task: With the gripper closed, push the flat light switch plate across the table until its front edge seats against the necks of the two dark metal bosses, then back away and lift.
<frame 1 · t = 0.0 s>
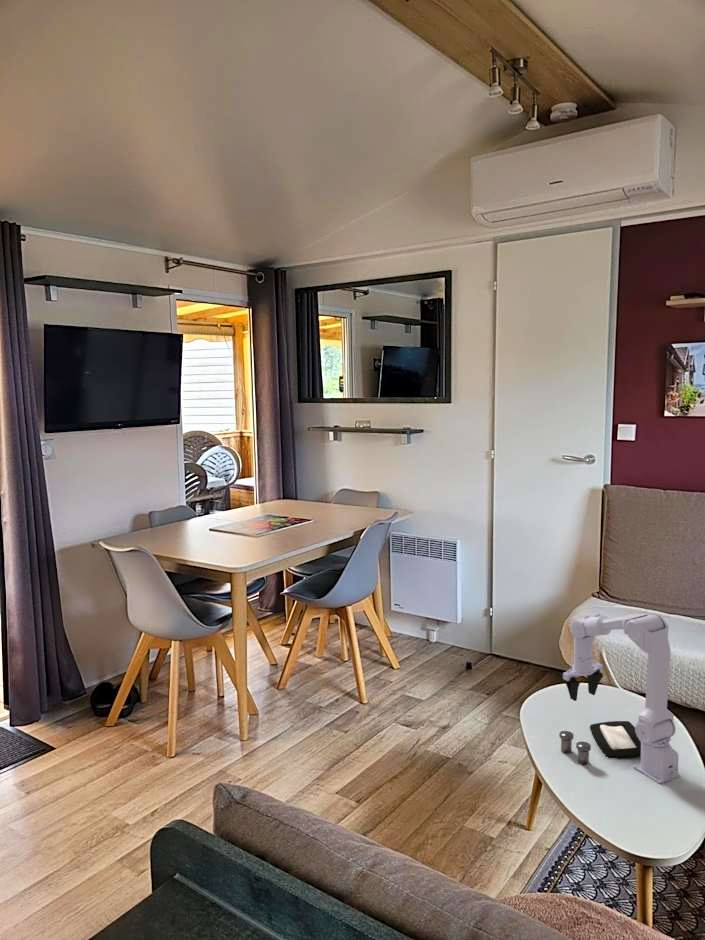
hand: (582, 696, 223), 10 cm above the table, tool pointing down, fingers open, 7 cm apart
light switch: (618, 743, 216), on the table
metal bosses: (574, 756, 208), on the table
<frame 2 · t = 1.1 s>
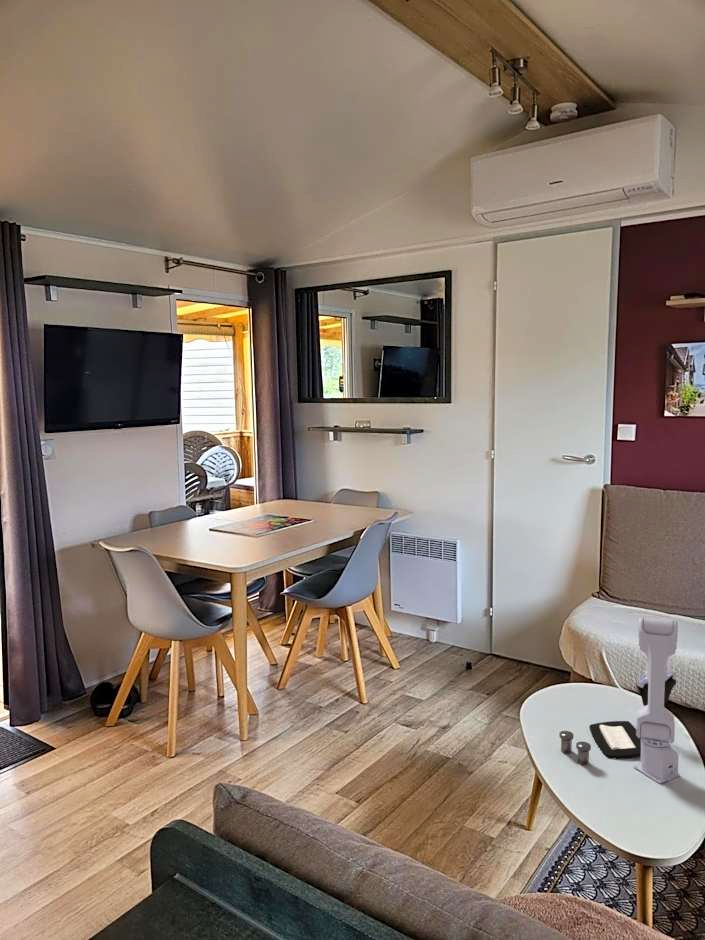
hand: (655, 703, 221), 8 cm above the table, tool pointing down, fingers open, 7 cm apart
nothing on the table moved.
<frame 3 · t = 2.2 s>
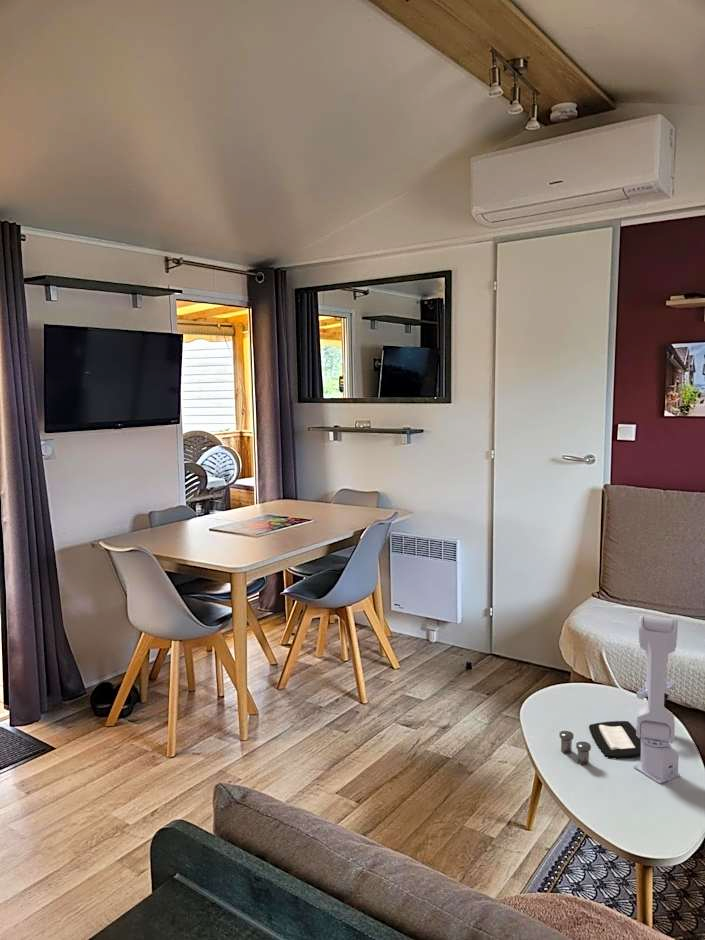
hand: (655, 715, 221), 4 cm above the table, tool pointing down, fingers closed
nothing on the table moved.
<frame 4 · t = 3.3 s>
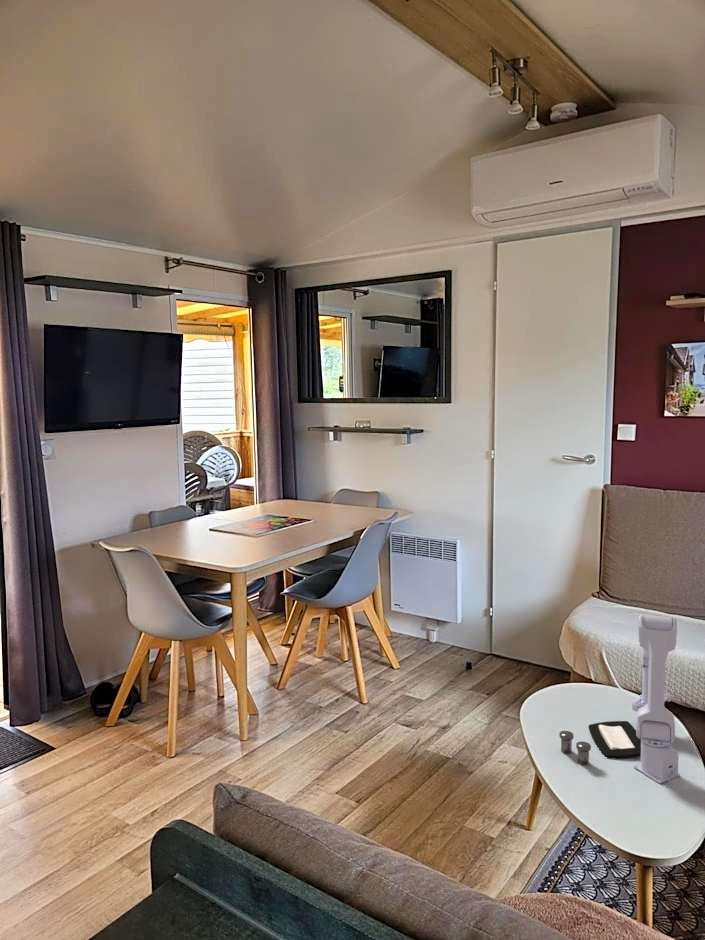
hand: (651, 727, 221), 1 cm above the table, tool pointing down, fingers closed
nothing on the table moved.
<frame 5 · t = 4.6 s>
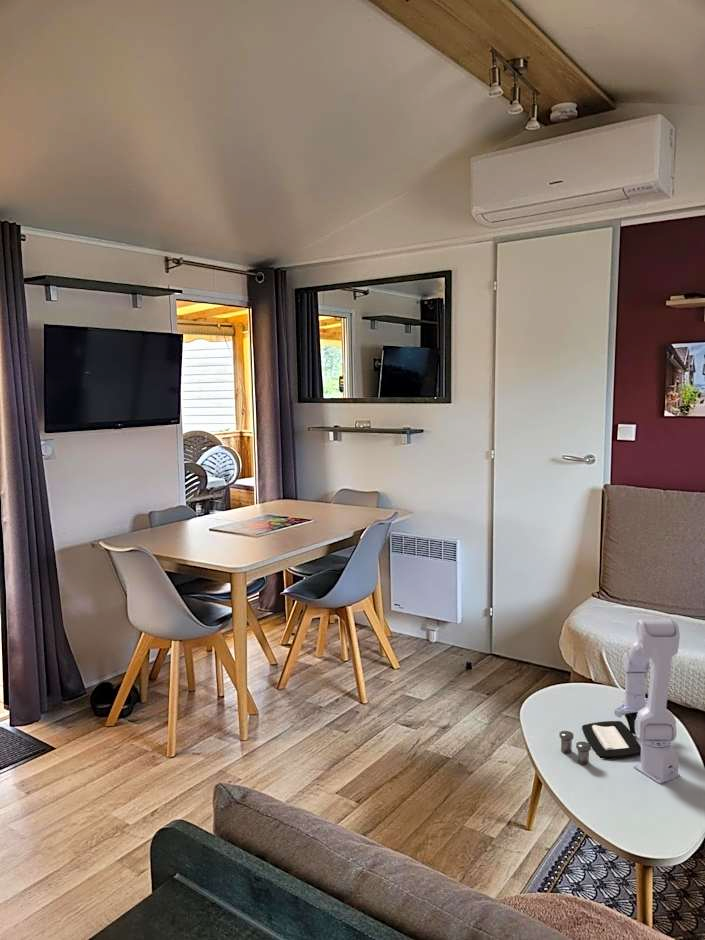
hand: (634, 733, 218), 1 cm above the table, tool pointing down, fingers closed
light switch: (611, 743, 215), on the table, touching gripper
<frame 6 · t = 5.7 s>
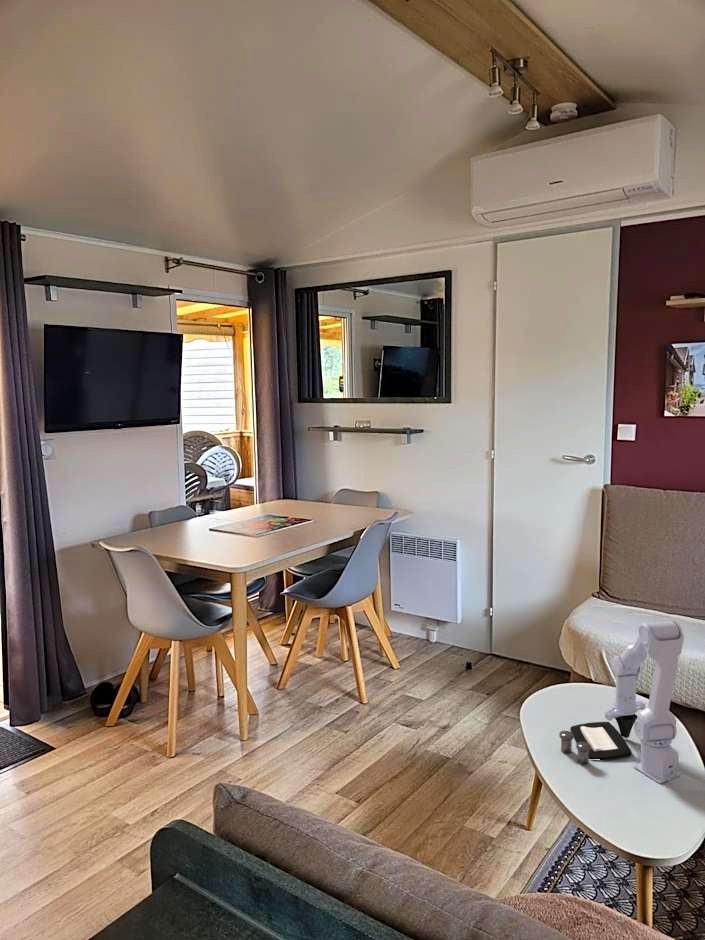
hand: (624, 736, 216), 1 cm above the table, tool pointing down, fingers closed
light switch: (599, 744, 215), on the table
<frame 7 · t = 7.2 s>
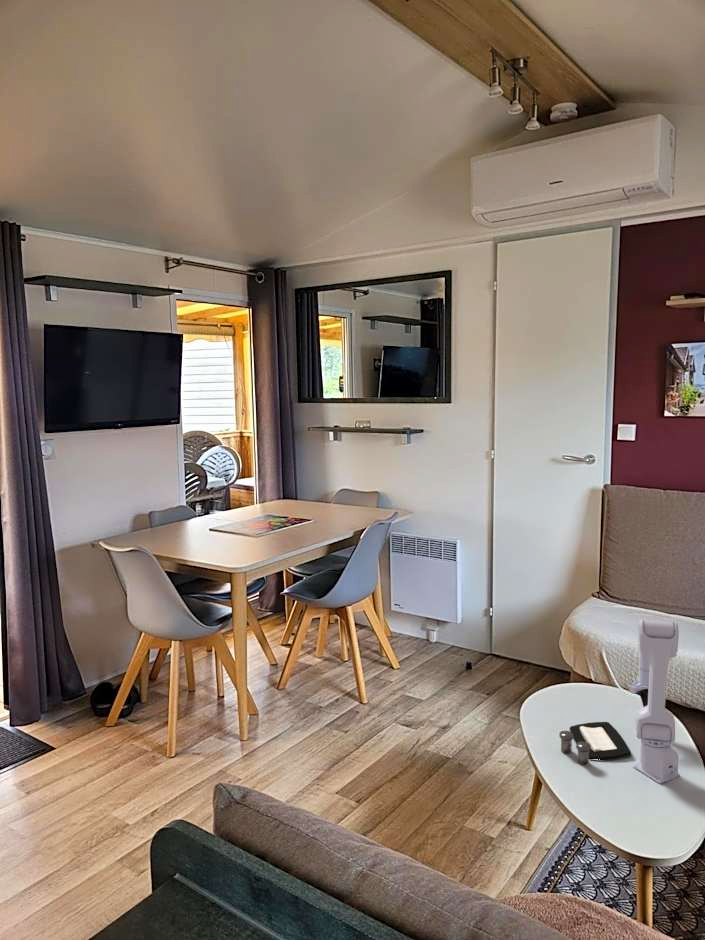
hand: (647, 709, 220), 7 cm above the table, tool pointing down, fingers closed
nothing on the table moved.
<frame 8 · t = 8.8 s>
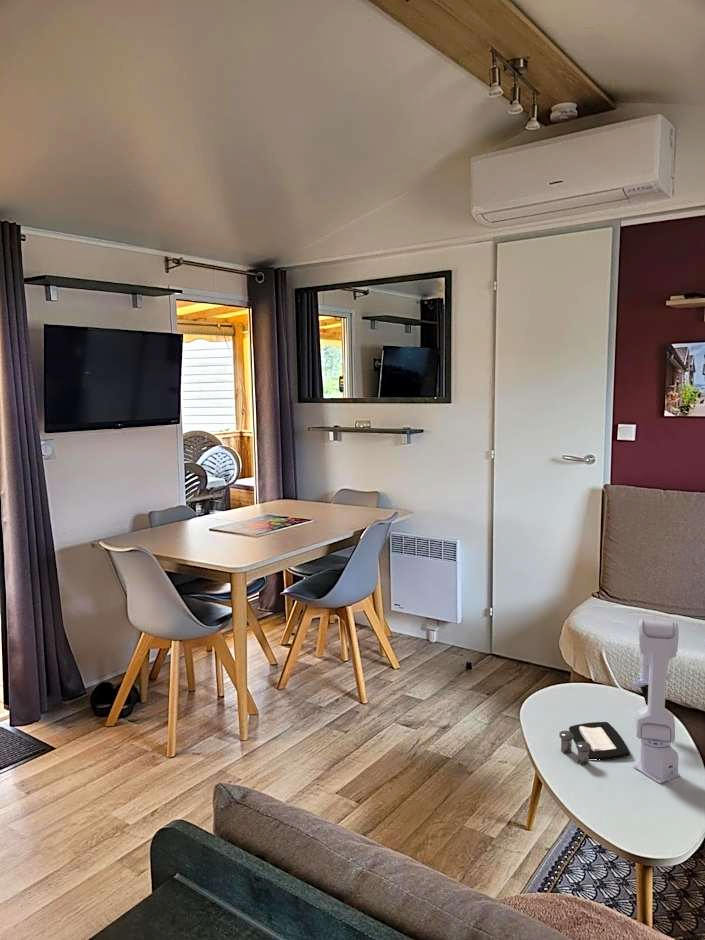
hand: (649, 705, 220), 8 cm above the table, tool pointing down, fingers closed
nothing on the table moved.
at the end: light switch 2.5 cm from the target spot, on the table; light switch moved 6.4 cm from its start; light switch tilted 0° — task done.
